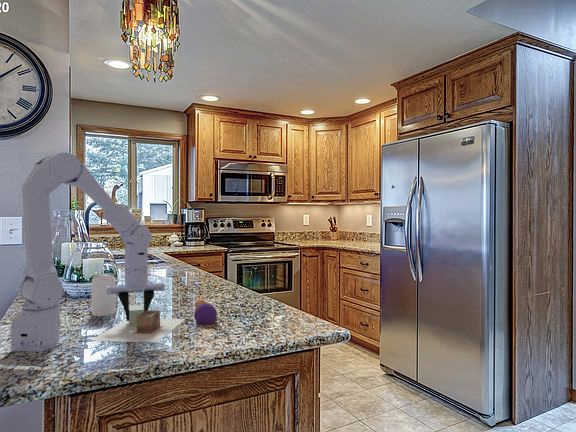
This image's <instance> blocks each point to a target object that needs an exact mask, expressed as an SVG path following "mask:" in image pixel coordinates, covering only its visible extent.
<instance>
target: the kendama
mask: <svg viewBox="0 0 576 432" xmlns="http://www.w3.org/2000/svg"><path fill="white" fill-rule="evenodd" d="M217 313H218V312H217V309H216V308H215V306H214V305H213V304H211V303H208V302H207V301H205V300H202V299H200V300H198V301H197V302H196V303H195V310H194V313H193V314H194V315H193V318H194V319H195V320H194V321H195V322H196V323H197V324H198V325H203V326H204V325H212V324H213V323H214V322H215V321H216V319H217V317H218V316H217V315H218V314H217Z"/></svg>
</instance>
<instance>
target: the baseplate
mask: <svg viewBox="0 0 576 432" xmlns="http://www.w3.org/2000/svg"><path fill="white" fill-rule="evenodd" d="M185 321H186V319H185V318H160V327H158V328H157V329H156V330H154V331H153V332H152V333H137V326H129V321H127V319H125V320H123V321H122V322H120V323H118V324H116V325H115V326H113V327H111V328H110V329H108V330H106V331H104V332H103V333H100V334H98V335H97V336H96V337H93V338H92V339H90V340H89V342H90V341H94V342H121V343H122V342H126V343H128V342H131V343H132V342H133V343H158V342H160V341H161V340H162V339H164V337H166V336H167V335H168V334H170V333H171V332H172V331H173V330H174V329H176V328H177V327H178V326H179V325H180V324H182V323H183V322H185Z"/></svg>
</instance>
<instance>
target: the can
mask: <svg viewBox="0 0 576 432" xmlns="http://www.w3.org/2000/svg"><path fill="white" fill-rule="evenodd" d="M107 286H117V281H116V276H115V273H110V272H107V273H105V272H103V273H95V274H93V278H92V279H91V315H92V316H94V317H106V316H112V315H115V314H116V312H117V311H116V310H117V294H111V295H107Z"/></svg>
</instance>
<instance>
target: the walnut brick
mask: <svg viewBox="0 0 576 432" xmlns="http://www.w3.org/2000/svg"><path fill="white" fill-rule="evenodd" d="M160 319H161V310H148V311H145V312H143V313H142V314H140V315H138V316H137V333H152V332H153V331H154V330H156V329H157V328H158V327H160Z"/></svg>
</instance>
